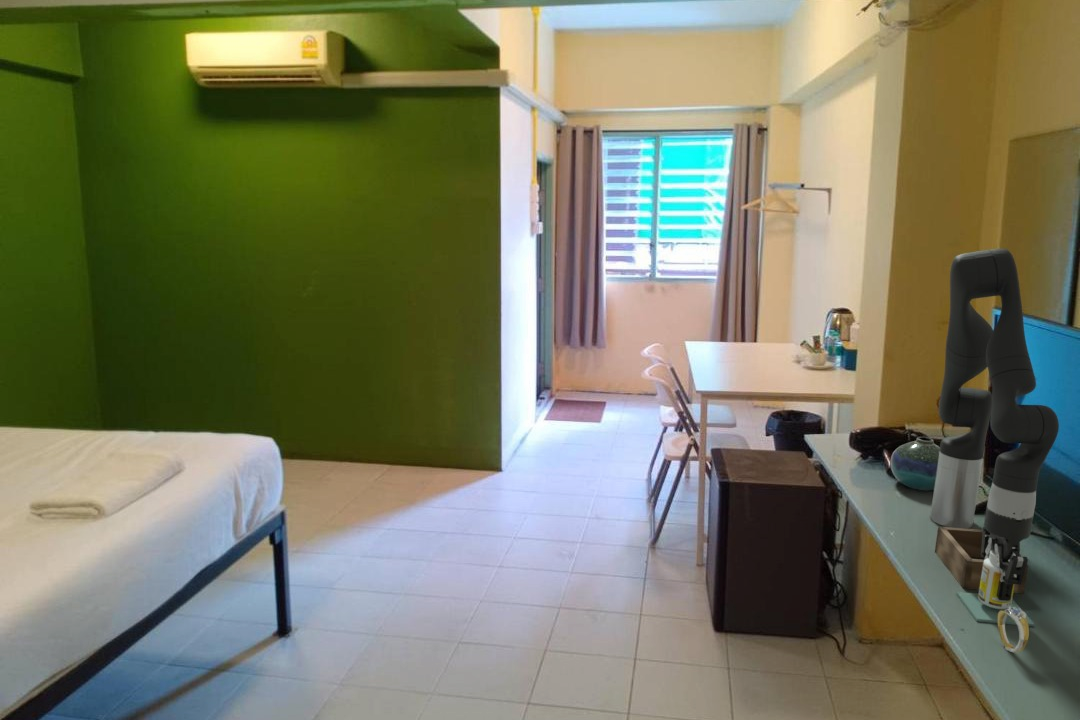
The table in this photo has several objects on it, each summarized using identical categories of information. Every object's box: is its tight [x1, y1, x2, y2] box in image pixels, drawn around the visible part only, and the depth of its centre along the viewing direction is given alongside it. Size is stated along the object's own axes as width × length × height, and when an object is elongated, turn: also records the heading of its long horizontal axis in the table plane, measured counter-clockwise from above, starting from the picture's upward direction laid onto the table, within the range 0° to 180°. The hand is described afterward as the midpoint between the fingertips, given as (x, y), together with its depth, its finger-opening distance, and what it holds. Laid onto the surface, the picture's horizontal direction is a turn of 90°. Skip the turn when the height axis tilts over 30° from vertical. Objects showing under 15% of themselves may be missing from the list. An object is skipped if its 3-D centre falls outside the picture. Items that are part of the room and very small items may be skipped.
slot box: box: [934, 526, 1029, 594], centre depth 166 cm, size 16×11×6 cm
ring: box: [997, 605, 1030, 653], centre depth 137 cm, size 7×3×8 cm, turn 175°
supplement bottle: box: [977, 550, 1015, 609], centre depth 150 cm, size 6×6×10 cm
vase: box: [890, 436, 940, 491], centre depth 212 cm, size 15×15×13 cm
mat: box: [955, 591, 1035, 627], centre depth 151 cm, size 10×10×1 cm
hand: (996, 591), depth 151 cm, fingers closed on supplement bottle, 5 cm apart
